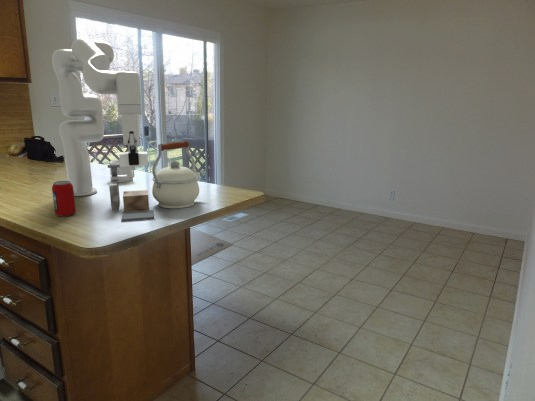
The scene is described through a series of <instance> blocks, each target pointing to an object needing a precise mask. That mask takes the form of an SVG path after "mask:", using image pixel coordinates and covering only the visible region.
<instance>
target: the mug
mask: <svg viewBox="0 0 535 401" xmlns="http://www.w3.org/2000/svg"><path fill="white" fill-rule="evenodd" d="M119 164H120V159H114V160H110V161H109V163H108V165H119ZM109 170H110V171H109V172H110V174H109V175H110V176H111V175H112V174H111V168H109ZM117 174H118V175H127V180H118V183H128V182H131V181H133V180H134V178H135V166H121V167H117Z"/></svg>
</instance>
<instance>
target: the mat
mask: <svg viewBox="0 0 535 401" xmlns="http://www.w3.org/2000/svg"><path fill="white" fill-rule="evenodd" d="M120 220H121V221H120V222H133V221H145V220H155V211H154V209H149V210H144V211H130V212H124V211H122V213H121V218H120Z"/></svg>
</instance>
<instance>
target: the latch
mask: <svg viewBox="0 0 535 401" xmlns="http://www.w3.org/2000/svg"><path fill="white" fill-rule="evenodd" d="M117 167H120V164H119V165H109V164H107V168H108V169H110V168H111V174H112V175H110V181H111V180H127V175H118V174H117Z"/></svg>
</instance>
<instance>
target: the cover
mask: <svg viewBox="0 0 535 401" xmlns="http://www.w3.org/2000/svg"><path fill="white" fill-rule="evenodd" d="M128 153H129V151H122V152H119V154H118V155H119V157H118V158H119V160H120V167H121V166H134V167H141V166H146V167H147V166H149V158H148V151H138V152H137V153H138V156H139V165H129V157H128ZM130 153H131V152H130Z"/></svg>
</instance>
